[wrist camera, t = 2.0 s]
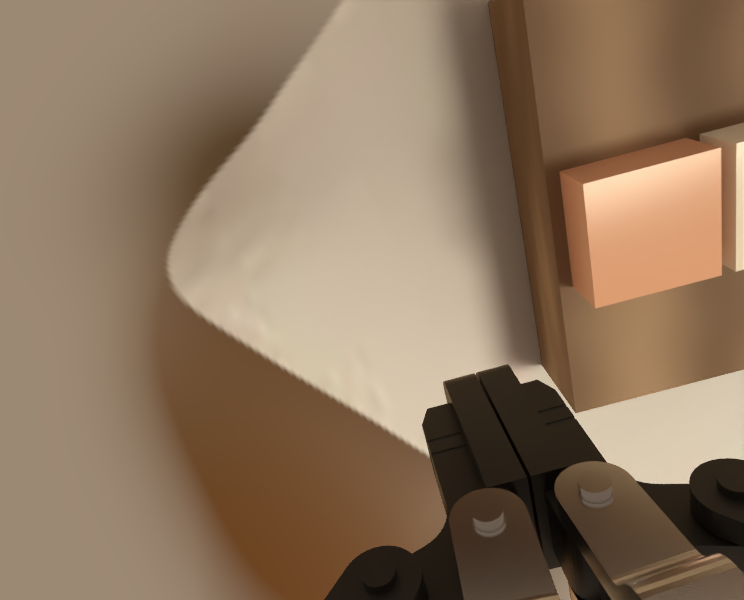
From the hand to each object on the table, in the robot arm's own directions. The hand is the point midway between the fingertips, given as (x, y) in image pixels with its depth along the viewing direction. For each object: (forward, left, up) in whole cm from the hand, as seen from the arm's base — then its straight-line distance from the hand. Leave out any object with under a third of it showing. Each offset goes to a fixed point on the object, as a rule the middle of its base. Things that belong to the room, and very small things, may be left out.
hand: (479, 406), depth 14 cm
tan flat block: (-11, 0, -13) cm, 17 cm away
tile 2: (-8, 0, -9) cm, 12 cm away
